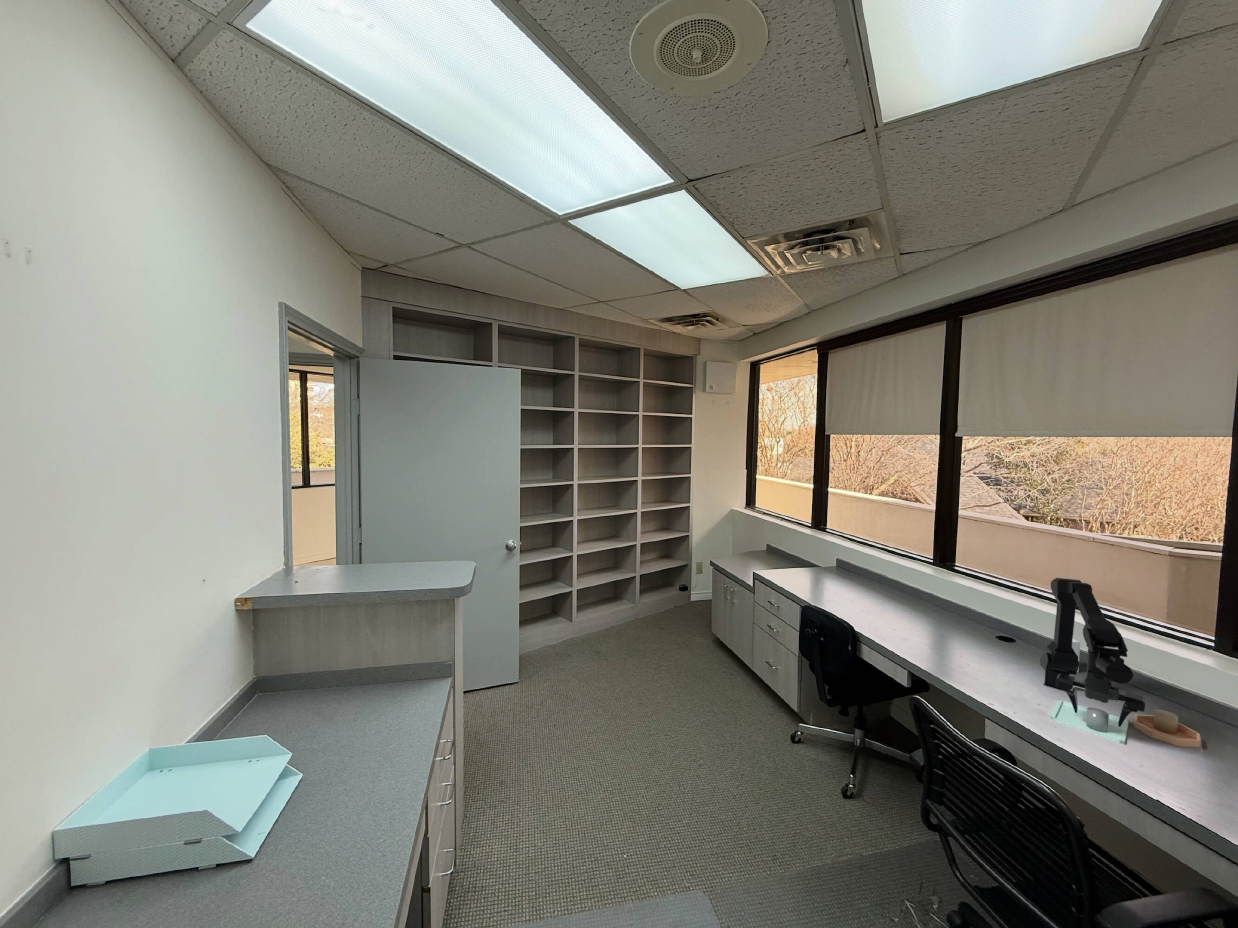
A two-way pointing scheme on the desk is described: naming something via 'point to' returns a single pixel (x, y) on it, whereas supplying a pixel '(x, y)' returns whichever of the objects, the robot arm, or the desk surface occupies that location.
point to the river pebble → (1166, 722)
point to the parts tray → (1078, 720)
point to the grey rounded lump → (1097, 720)
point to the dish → (1182, 738)
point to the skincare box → (1076, 648)
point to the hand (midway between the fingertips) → (1097, 719)
